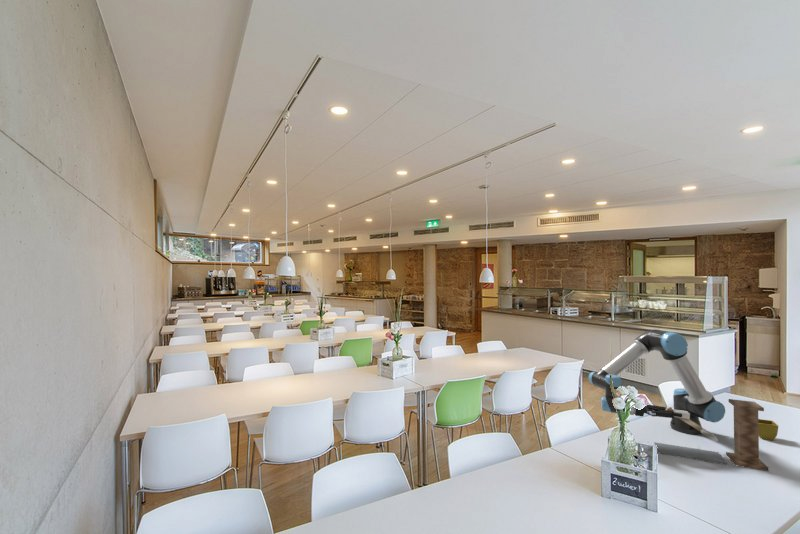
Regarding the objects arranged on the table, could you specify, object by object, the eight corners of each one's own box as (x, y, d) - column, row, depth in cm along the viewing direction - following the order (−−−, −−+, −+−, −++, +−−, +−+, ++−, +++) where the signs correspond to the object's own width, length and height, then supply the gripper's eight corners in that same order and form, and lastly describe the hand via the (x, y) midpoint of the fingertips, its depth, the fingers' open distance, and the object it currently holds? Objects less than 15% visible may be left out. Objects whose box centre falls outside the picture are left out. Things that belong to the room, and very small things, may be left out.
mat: (659, 453, 193) (659, 452, 193) (654, 443, 205) (654, 442, 205) (727, 464, 182) (727, 463, 182) (718, 453, 194) (717, 452, 194)
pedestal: (735, 465, 181) (734, 405, 182) (725, 454, 192) (725, 398, 193) (768, 470, 177) (767, 408, 177) (757, 459, 188) (756, 401, 188)
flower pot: (757, 439, 212) (757, 422, 212) (752, 433, 220) (751, 417, 220) (779, 442, 208) (778, 425, 208) (772, 436, 216) (772, 420, 216)
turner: (667, 412, 195) (669, 408, 194) (664, 407, 201) (666, 404, 201) (716, 442, 186) (719, 439, 186) (712, 437, 193) (714, 434, 192)
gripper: (632, 410, 210) (684, 417, 201) (636, 420, 196) (693, 427, 187) (632, 396, 211) (684, 403, 201) (636, 405, 197) (693, 412, 187)
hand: (688, 415), depth 194 cm, fingers closed on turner, 2 cm apart
